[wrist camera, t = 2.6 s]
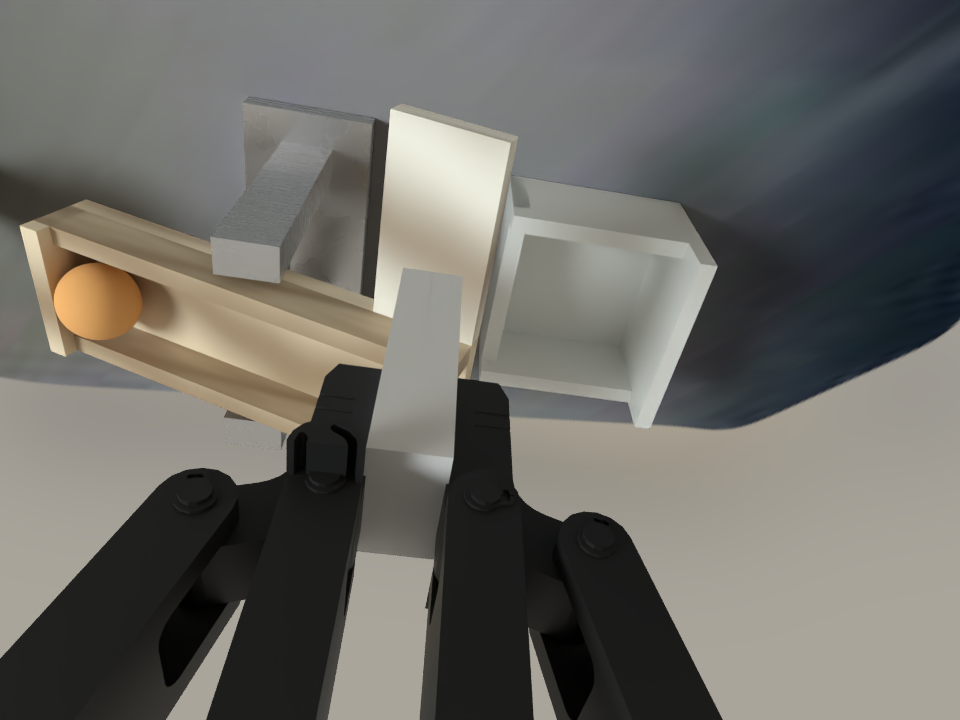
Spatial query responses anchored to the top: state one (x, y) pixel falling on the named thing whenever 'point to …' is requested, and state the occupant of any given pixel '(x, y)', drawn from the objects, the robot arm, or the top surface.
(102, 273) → the ball
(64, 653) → the robot arm
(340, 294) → the lever
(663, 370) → the tray
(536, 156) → the top surface
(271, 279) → the stand
